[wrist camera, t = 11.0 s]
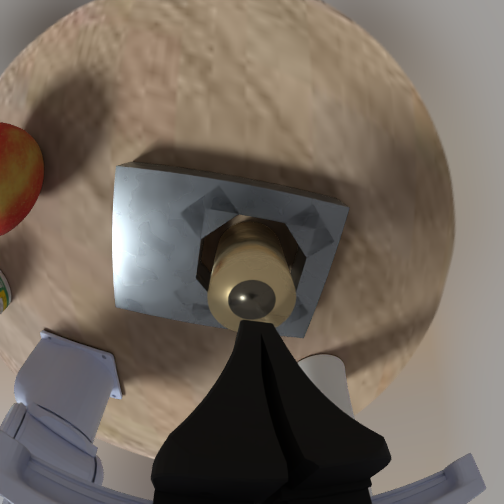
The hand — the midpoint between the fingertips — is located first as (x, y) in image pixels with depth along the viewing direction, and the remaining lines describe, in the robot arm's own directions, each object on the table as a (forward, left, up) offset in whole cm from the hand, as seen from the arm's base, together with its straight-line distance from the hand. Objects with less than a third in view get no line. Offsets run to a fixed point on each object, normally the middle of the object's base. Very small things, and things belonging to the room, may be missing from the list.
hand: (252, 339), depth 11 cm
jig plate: (-2, 0, -9) cm, 9 cm away
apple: (-19, +4, -9) cm, 21 cm away
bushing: (0, 0, -9) cm, 9 cm away
